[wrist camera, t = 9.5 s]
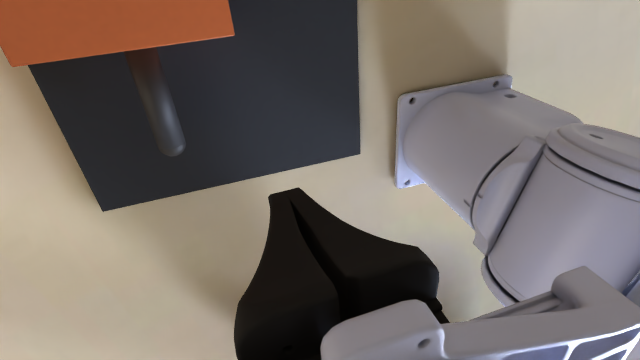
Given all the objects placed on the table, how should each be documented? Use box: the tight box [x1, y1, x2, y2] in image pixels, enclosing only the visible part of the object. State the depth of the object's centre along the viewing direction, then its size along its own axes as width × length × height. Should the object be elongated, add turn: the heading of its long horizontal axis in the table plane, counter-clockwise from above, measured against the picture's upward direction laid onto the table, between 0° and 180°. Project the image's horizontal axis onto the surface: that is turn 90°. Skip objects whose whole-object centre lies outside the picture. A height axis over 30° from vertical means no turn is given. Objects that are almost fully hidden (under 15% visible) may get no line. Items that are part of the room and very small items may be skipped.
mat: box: [28, 0, 360, 212], centre depth 20 cm, size 18×22×1 cm
